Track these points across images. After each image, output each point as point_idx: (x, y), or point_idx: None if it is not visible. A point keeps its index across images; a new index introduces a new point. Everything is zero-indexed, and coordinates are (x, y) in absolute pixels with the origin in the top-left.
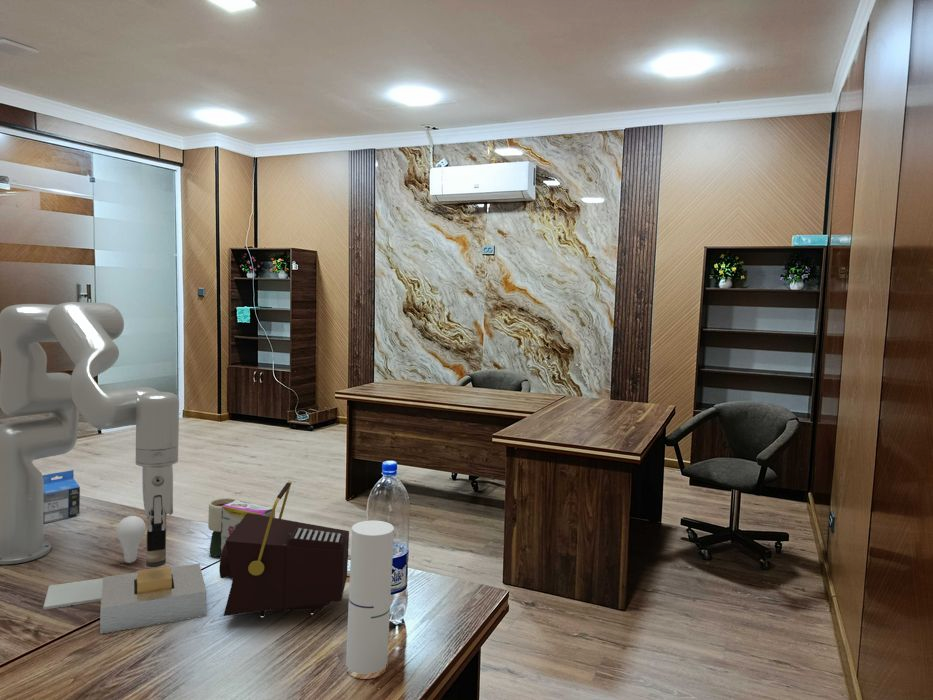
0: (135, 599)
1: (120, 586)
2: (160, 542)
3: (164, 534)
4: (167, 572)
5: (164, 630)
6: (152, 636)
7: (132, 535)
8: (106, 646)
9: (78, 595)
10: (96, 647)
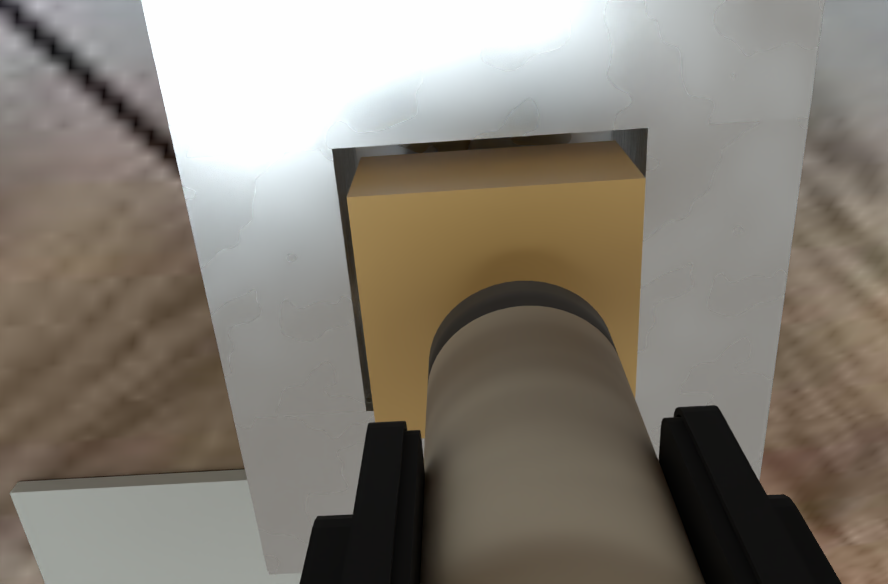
0: (718, 385)
1: None
2: (808, 533)
3: (797, 570)
4: (498, 217)
5: (821, 140)
6: (860, 204)
7: None
8: (840, 408)
9: (232, 575)
10: (824, 446)
